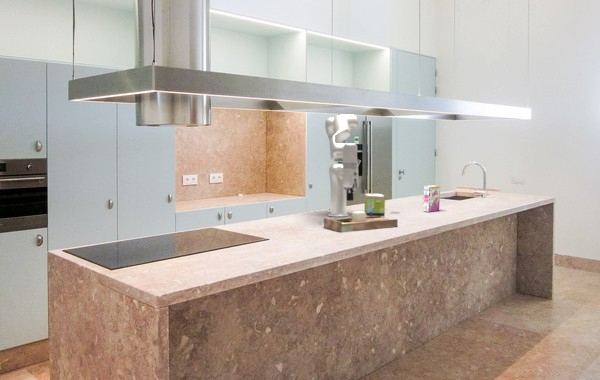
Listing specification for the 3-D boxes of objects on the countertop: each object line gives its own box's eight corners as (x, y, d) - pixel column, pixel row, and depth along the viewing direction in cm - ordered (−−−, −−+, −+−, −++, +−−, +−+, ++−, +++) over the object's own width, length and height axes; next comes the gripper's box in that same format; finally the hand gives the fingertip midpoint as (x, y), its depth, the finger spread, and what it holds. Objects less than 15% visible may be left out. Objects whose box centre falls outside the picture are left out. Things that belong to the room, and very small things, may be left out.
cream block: (352, 220, 271) (352, 212, 271) (360, 219, 274) (360, 211, 273) (357, 221, 267) (357, 213, 267) (365, 221, 269) (365, 212, 269)
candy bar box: (429, 212, 324) (429, 186, 322) (422, 211, 328) (423, 186, 326) (439, 211, 331) (440, 185, 330) (433, 210, 335) (433, 185, 333)
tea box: (385, 222, 285) (385, 195, 284) (366, 222, 285) (367, 195, 284) (381, 218, 300) (381, 193, 299) (364, 218, 300) (364, 193, 299)
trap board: (323, 227, 267) (323, 218, 267) (379, 222, 283) (379, 213, 283) (340, 232, 253) (340, 222, 253) (397, 226, 269) (397, 217, 268)
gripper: (363, 166, 271) (363, 201, 272) (348, 166, 284) (348, 199, 285) (351, 166, 267) (351, 201, 268) (336, 166, 281) (336, 199, 282)
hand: (350, 200), depth 277 cm, fingers closed
